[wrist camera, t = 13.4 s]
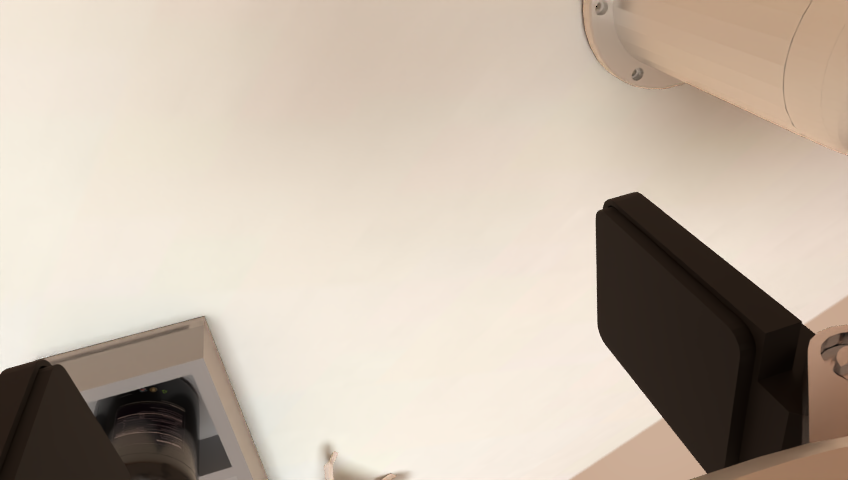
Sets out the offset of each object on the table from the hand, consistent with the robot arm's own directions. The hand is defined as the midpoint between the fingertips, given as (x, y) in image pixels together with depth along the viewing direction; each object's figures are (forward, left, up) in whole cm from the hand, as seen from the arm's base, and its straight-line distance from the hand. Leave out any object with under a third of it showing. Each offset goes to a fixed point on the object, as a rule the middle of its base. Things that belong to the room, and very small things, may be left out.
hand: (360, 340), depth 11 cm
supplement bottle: (+14, +24, -29) cm, 40 cm away
